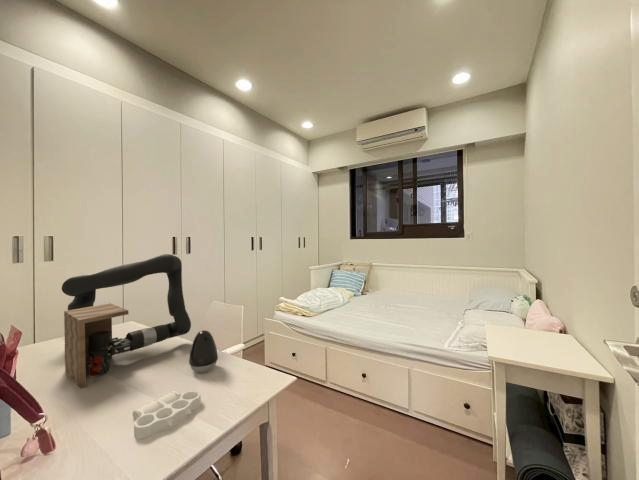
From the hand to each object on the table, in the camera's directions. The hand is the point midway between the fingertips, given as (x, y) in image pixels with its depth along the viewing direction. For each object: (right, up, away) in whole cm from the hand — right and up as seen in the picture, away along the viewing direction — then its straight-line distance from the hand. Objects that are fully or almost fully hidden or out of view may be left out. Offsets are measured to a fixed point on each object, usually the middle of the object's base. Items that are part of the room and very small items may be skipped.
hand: (91, 352), depth 100 cm
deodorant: (+1, -9, +2) cm, 9 cm away
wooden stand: (0, -8, +3) cm, 9 cm away
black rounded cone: (+41, -8, +4) cm, 42 cm away
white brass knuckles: (+41, -9, -23) cm, 48 cm away
